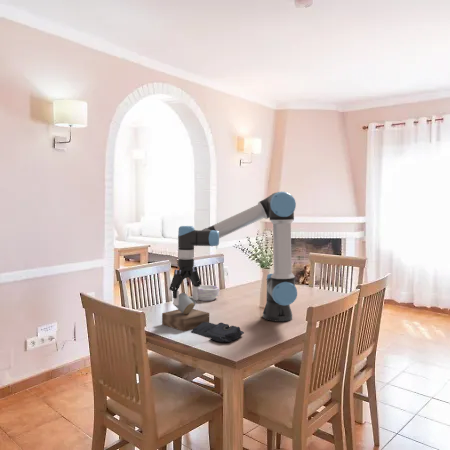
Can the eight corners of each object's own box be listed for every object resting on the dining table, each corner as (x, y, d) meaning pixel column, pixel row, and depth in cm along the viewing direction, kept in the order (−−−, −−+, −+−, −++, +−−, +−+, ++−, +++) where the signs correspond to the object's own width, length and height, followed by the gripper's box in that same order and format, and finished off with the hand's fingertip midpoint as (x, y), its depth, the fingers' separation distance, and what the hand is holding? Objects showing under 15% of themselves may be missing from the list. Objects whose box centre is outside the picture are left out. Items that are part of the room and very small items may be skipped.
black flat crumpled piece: (209, 325, 202) (209, 316, 202) (247, 335, 188) (247, 324, 188) (187, 333, 190) (187, 322, 190) (225, 343, 176) (226, 332, 176)
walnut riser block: (209, 325, 203) (209, 312, 203) (184, 332, 191) (184, 319, 191) (186, 319, 214) (186, 307, 213) (162, 325, 202) (162, 313, 202)
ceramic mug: (183, 318, 199) (185, 308, 194) (171, 307, 203) (173, 297, 198) (199, 306, 206) (201, 296, 201) (187, 296, 209) (189, 286, 204)
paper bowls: (223, 300, 254) (224, 287, 254) (204, 304, 244) (204, 290, 244) (207, 296, 266) (207, 283, 265) (188, 299, 256) (188, 286, 255)
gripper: (196, 255, 213) (196, 296, 214) (161, 260, 193) (161, 305, 194) (208, 256, 209) (208, 298, 210) (173, 261, 189) (173, 308, 190)
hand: (185, 302), depth 202 cm, fingers open, 13 cm apart
